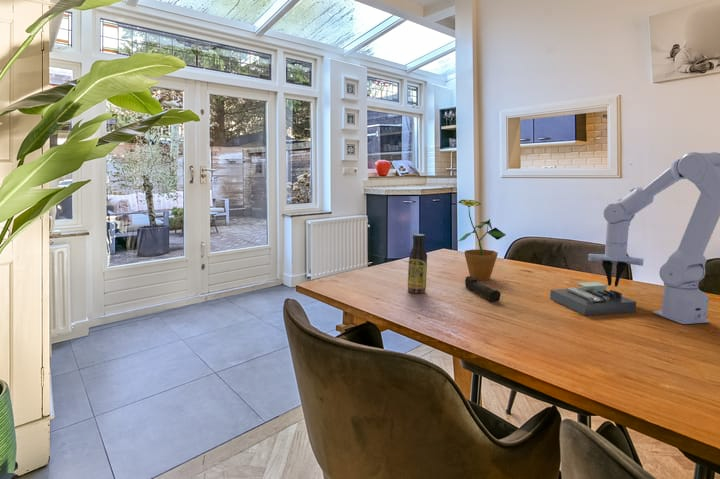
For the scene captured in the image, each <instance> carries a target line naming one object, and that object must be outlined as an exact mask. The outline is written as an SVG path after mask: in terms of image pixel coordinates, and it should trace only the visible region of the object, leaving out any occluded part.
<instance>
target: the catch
mask: <svg viewBox="0 0 720 479" xmlns="http://www.w3.org/2000/svg"><path fill="white" fill-rule="evenodd" d="M576 285H577V287H578V288H584V289H587V290H590V291H595V292H598V291H602V292H604V290H606V291H607V286H608V284H604V283H601V282H599V281H591V282H577V283H576Z"/></svg>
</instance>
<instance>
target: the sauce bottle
mask: <svg viewBox="0 0 720 479" xmlns="http://www.w3.org/2000/svg"><path fill="white" fill-rule="evenodd" d="M425 239H426V234H424V233H414V234H413V235H412V240H413V241H412V243H413V244H412V247H411V248H412V249H411V250H410V252H409V257H408V269H407V272H408V273H407V291H408V292H410V293H413V294H422V293H425V292H426V289H427V273H428V270H427V268H428V254H427V252H426V250H425Z"/></svg>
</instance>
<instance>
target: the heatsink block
mask: <svg viewBox="0 0 720 479" xmlns="http://www.w3.org/2000/svg"><path fill="white" fill-rule="evenodd" d="M576 288H577V289H580V290H582V291H585V292H587V293H590V294H592V295H595V296H597V297H600V298H603V299H604V301H603V302H594V298H592V297H587V299H586V298H584V297H581V296H579V295H577V294H574V293H572V292H570V291H567V290H566V288H561V289H559V288H558V289H550V295H549V296H550V297H549V299H550V300H552V301H553V302H555V303H557V304H559V305H561V306H564V307H565V308H568V309H569V310H572V311H574V312H575V313H578V314H580V315H582V316H596V315H597V316H598V315H610V314H611V315H612V314H625V313H636V309H637V301H635V300H633V299H630V298H628V297H626V296H623V293H621V292H620V291H616V290H613V289H609V291H608V290H607V289H606V290H604V292H602V291H598V292H595V291H590V290H587V289H584V288H582V287H576Z"/></svg>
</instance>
